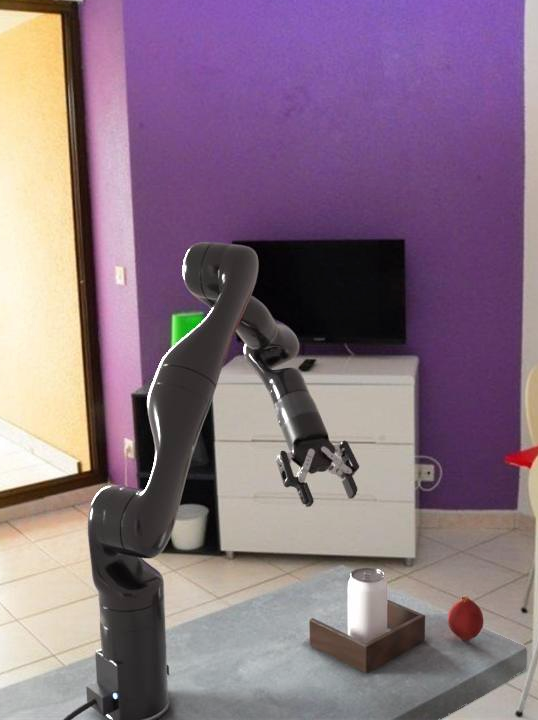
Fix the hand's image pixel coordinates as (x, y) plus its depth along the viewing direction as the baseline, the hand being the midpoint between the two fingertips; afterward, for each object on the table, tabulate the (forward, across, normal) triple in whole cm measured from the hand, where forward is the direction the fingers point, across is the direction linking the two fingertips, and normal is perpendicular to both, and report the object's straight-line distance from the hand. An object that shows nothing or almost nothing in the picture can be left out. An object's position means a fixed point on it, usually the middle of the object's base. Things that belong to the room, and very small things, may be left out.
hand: (332, 500), depth 157 cm
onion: (+28, +14, +2) cm, 32 cm away
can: (+23, 0, +7) cm, 24 cm away
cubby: (+23, 0, +7) cm, 24 cm away
